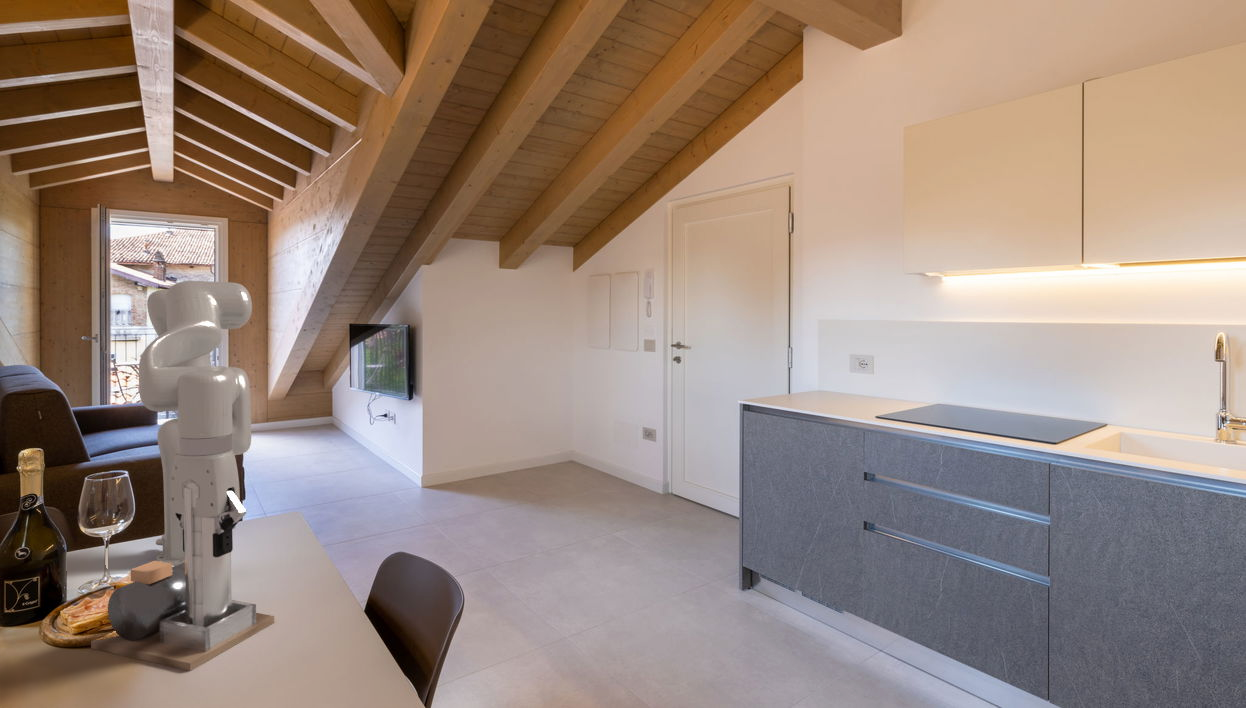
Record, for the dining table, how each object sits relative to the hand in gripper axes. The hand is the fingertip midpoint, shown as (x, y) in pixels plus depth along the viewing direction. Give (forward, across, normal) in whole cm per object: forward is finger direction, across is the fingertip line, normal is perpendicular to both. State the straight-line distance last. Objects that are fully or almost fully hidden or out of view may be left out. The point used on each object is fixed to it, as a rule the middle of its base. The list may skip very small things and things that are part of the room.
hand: (208, 550), depth 105 cm
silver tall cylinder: (+13, 0, 0) cm, 13 cm away
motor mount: (+15, -5, 0) cm, 16 cm away
